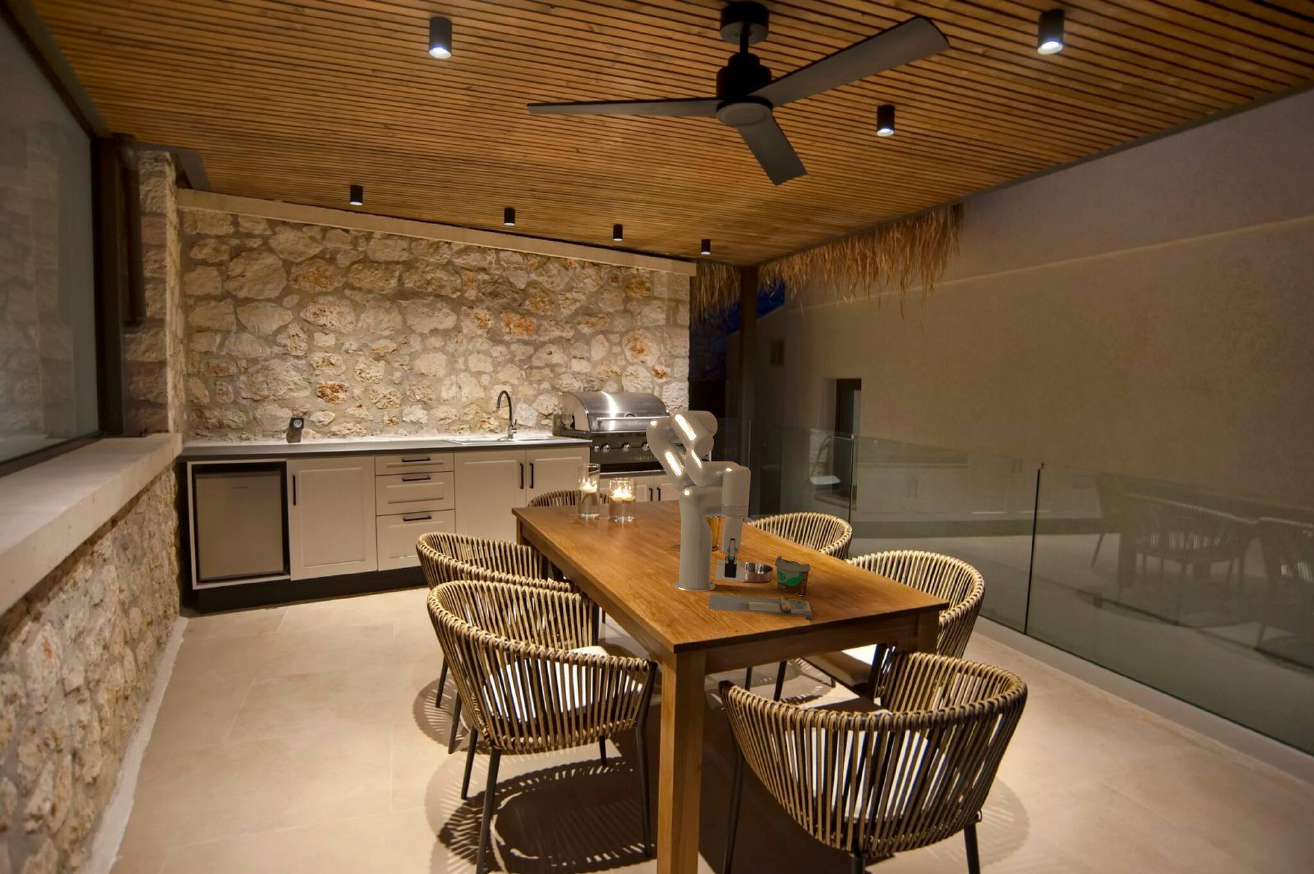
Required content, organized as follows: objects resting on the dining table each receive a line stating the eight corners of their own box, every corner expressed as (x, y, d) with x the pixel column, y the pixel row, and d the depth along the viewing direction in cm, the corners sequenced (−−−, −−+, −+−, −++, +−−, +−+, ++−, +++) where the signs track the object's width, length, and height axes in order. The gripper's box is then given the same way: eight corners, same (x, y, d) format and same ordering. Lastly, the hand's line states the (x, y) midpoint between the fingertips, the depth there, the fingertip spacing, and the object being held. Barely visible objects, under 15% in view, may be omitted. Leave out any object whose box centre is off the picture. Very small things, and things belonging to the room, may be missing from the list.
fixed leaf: (780, 603, 201) (780, 594, 200) (807, 605, 200) (808, 596, 200) (782, 613, 191) (782, 605, 191) (811, 615, 190) (811, 607, 190)
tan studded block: (715, 573, 201) (716, 558, 200) (744, 575, 200) (745, 561, 200) (715, 579, 195) (716, 564, 195) (744, 581, 194) (745, 567, 194)
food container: (764, 589, 217) (766, 557, 217) (778, 586, 221) (780, 555, 220) (795, 600, 208) (797, 566, 207) (809, 597, 211) (811, 564, 211)
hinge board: (709, 597, 207) (710, 593, 207) (806, 604, 204) (807, 600, 204) (708, 612, 193) (708, 608, 193) (812, 619, 190) (812, 615, 190)
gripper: (721, 503, 204) (717, 564, 206) (720, 516, 187) (715, 582, 189) (747, 505, 204) (743, 566, 206) (748, 518, 187) (744, 584, 189)
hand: (730, 573), depth 197 cm, fingers closed on tan studded block, 6 cm apart
